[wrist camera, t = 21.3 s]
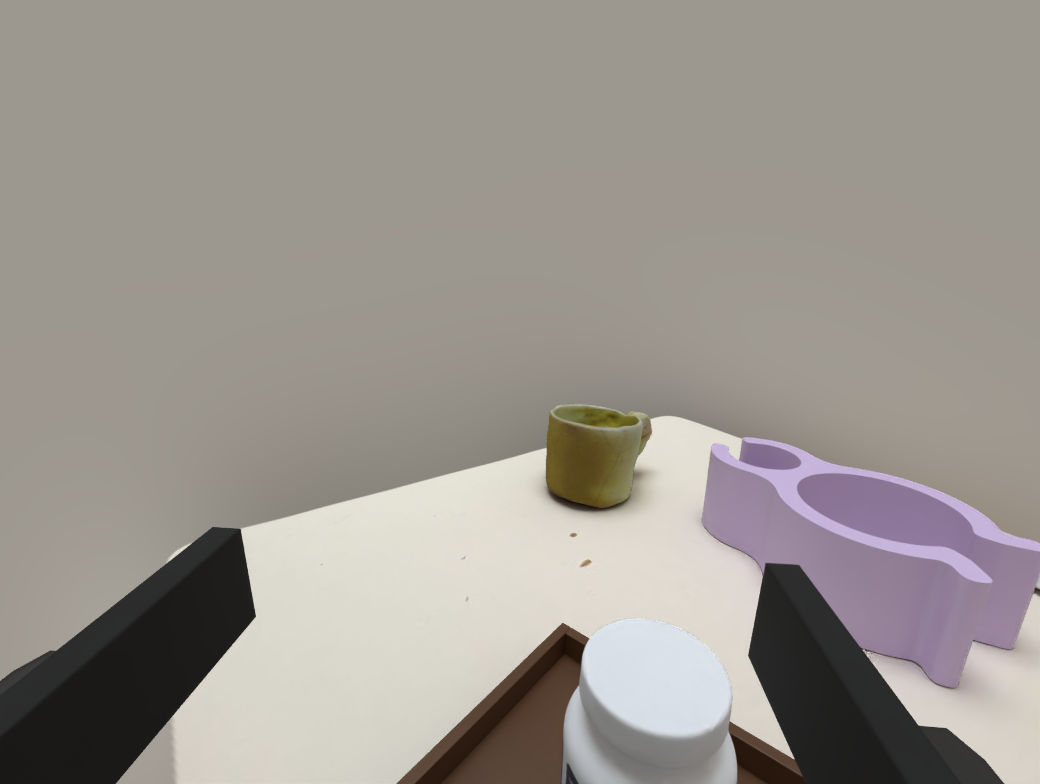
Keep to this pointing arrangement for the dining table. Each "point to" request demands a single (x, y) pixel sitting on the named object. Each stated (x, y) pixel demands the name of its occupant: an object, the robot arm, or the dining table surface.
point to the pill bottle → (648, 710)
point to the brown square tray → (551, 729)
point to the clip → (877, 552)
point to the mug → (594, 453)
